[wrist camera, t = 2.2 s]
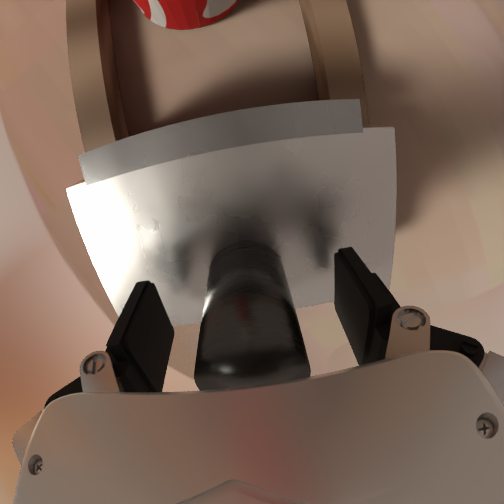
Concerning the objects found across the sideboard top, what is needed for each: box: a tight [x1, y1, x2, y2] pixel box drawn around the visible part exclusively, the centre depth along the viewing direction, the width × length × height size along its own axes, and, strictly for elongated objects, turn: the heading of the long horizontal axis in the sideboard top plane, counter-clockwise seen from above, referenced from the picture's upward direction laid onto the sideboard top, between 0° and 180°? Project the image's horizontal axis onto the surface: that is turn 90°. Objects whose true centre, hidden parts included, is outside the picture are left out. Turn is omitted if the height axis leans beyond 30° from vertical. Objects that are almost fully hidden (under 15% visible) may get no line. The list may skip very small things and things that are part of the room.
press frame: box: [66, 0, 369, 153], centre depth 10 cm, size 24×15×6 cm, turn 9°
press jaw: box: [66, 99, 397, 391], centre depth 11 cm, size 10×15×9 cm, turn 99°
